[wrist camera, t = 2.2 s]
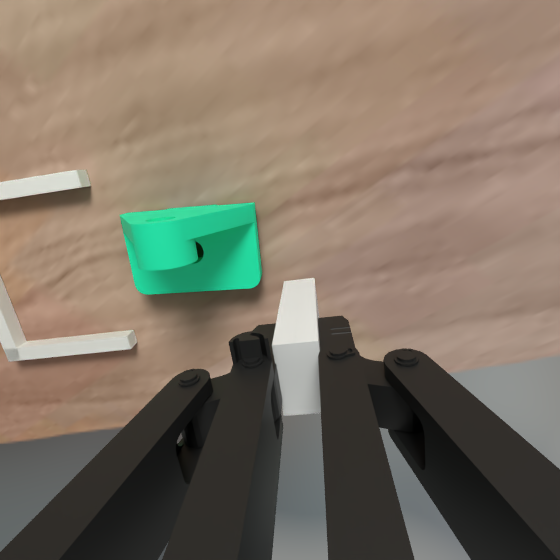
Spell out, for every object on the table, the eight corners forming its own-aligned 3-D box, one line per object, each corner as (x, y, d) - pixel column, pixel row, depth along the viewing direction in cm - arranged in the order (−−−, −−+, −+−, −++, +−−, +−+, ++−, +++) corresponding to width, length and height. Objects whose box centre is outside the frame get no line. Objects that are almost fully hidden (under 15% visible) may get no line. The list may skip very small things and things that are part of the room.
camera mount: (148, 286, 37) (92, 330, 27) (133, 211, 34) (64, 230, 25) (264, 279, 36) (249, 322, 26) (256, 201, 33) (235, 216, 23)
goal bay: (86, 169, 33) (76, 169, 32) (137, 342, 39) (130, 349, 37) (-48, 191, 35) (-64, 192, 33) (19, 354, 40) (8, 361, 39)
